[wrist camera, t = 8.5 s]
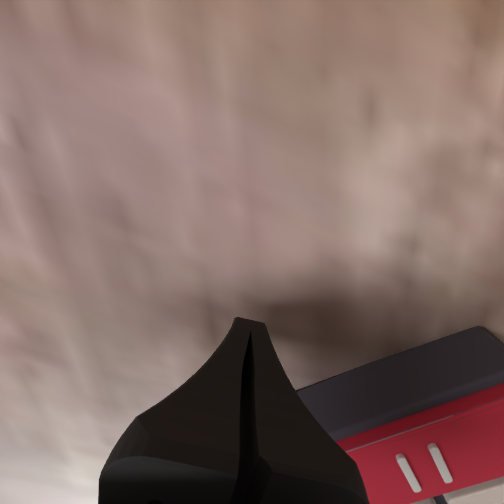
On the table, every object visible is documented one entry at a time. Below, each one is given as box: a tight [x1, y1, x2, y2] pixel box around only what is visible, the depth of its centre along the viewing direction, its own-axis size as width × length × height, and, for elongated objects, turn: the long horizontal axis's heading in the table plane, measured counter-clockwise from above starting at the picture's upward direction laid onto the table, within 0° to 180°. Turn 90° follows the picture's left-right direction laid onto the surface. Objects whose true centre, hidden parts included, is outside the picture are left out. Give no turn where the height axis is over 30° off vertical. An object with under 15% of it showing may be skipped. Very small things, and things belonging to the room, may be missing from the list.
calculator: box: [296, 326, 504, 504], centre depth 15 cm, size 11×4×15 cm
